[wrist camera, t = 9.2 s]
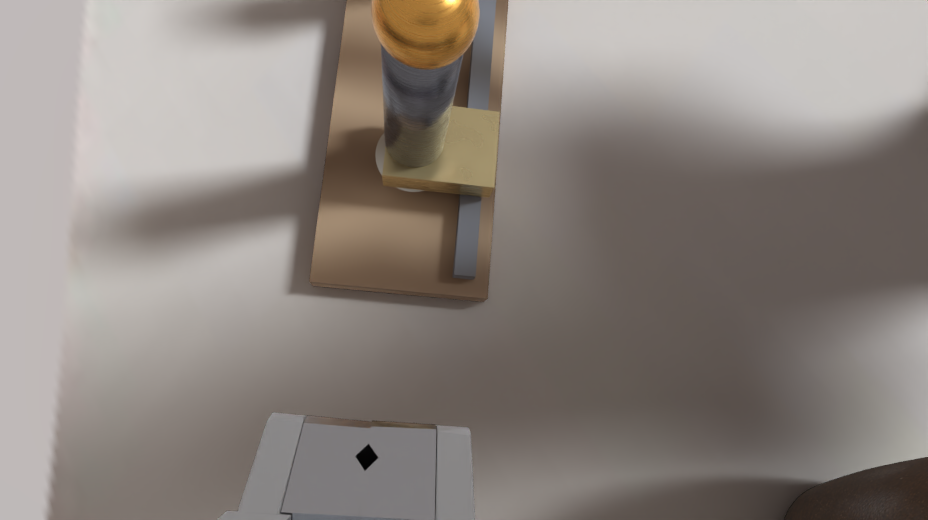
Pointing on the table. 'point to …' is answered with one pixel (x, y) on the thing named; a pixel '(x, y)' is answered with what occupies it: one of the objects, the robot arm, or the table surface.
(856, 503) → the plant pot
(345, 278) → the wooden peg board
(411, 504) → the robot arm
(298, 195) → the table surface
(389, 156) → the sliding leg
